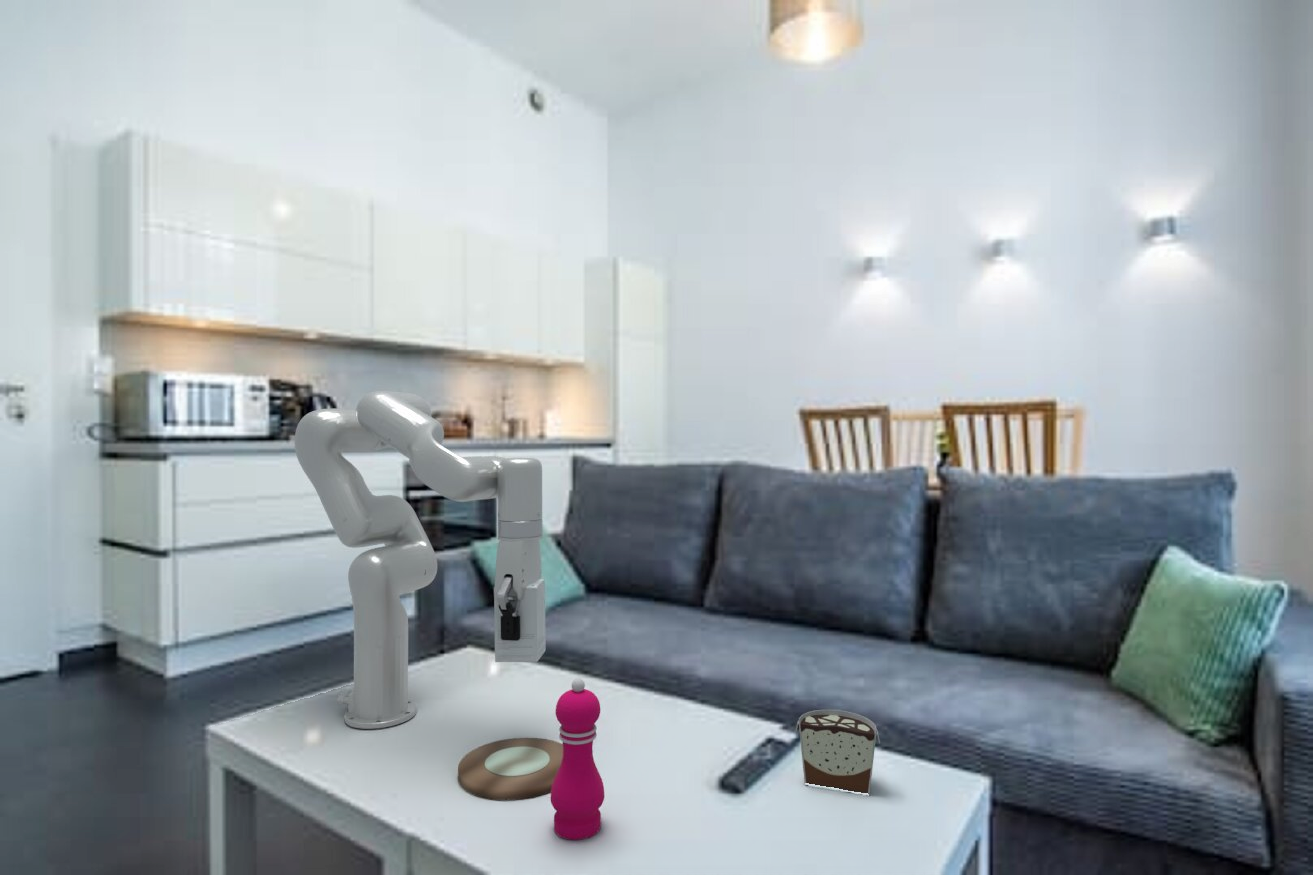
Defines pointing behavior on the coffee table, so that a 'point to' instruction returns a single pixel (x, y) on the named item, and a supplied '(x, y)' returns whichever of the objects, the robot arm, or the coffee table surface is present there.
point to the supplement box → (524, 627)
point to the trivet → (511, 768)
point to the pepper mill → (577, 766)
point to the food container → (837, 749)
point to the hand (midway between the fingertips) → (520, 632)
